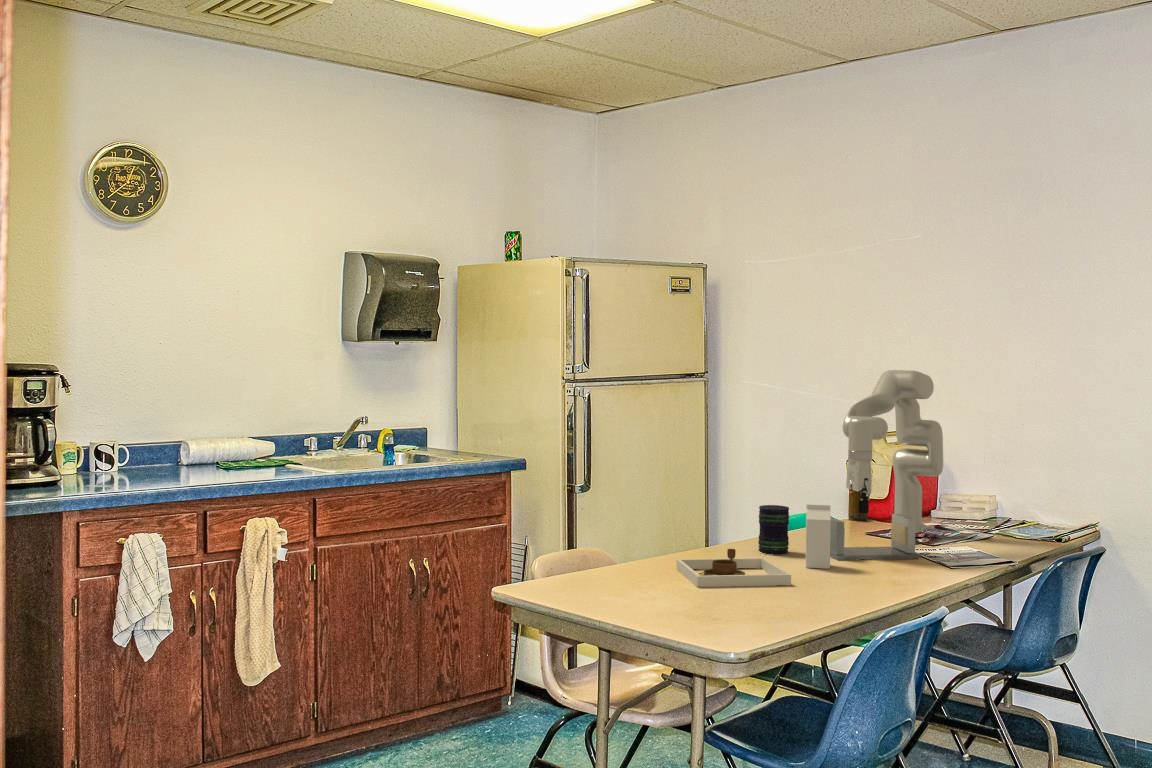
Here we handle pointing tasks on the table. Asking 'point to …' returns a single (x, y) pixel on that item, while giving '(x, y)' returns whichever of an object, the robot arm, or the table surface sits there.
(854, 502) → the condiment
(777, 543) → the storage jar
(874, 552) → the vise base
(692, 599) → the table surface
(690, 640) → the table surface
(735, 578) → the serving tray rim
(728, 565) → the place setting
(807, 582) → the table surface
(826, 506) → the milk carton
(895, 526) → the block
